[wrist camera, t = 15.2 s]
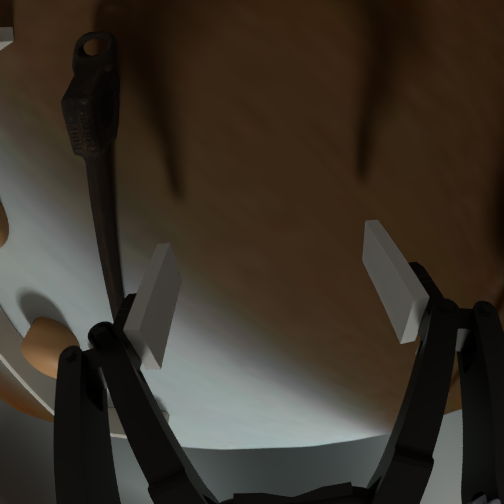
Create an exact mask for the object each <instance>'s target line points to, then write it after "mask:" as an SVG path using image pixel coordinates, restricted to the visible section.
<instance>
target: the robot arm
mask: <svg viewBox="0 0 504 504" xmlns="http://www.w3.org/2000/svg"><path fill="white" fill-rule="evenodd" d="M362 261H363V263H364V265H365V267H366V269H367V272H368V274H369V276H370V278H371V280H372V282H373V284H374V286H375V288H376V290H377V292H378V294H379V297H380V299H381V301H382V303H383V305H384V307H385V310H386V312H387V314H388V316H389V318H390V321H391V323H392V325H393V328H394V330H395V332H396V334H397V337H398V339H399V342H400V344H402V343H407V342H411V341H415V339H416V336H417V333H419V335H420V338H421V340H420V343H419V346H418V348H417V351H416V353H415V354H417V355H416V358H415V362H414V366H413V369H412V373H411V376H410V380H409V383H408V387H407V390H406V393H405V396H404V399H403V402H402V405H401V408H400V411H399V414H398V417H397V420H396V422H395V425H394V428H393V431H392V433H391V436H390V438H389V441H388V443H387V446H386V448H385V451H384V453H383V456H382V458H381V460H380V462H379V465H378V467H377V469H376V471H375V473H374V474H373V476H372V478H371V480H370V482H369V484H368V485H367V488H363V487H356V486H352V485H351V482H348V483H342V484H337V485H331V486H325V487H321V488H319V489H316V490H313V491H310V492H307V493H304V494H302V495H299V496H296V497H286V496H279V495H273V494H266V493H239V494H238V493H236V494H233V495H234V496H233V497H234V498H232V499H228V500H225V501H223V502H221V503H219V502H218V500H217V499H216V498H215V496H214V495H213V494H212V493H211V491H210V490H209V489H208V488H207V487H206V485H205V484H204V482H203V481H202V479H201V478H200V476H199V475H198V473H197V472H196V470H195V469H194V467H193V465H192V464H191V462H190V460H189V459H188V457H187V456H186V454H185V452H184V451H183V449H182V447H181V446H180V444H179V442H178V440H177V439H176V437H175V435H174V434H173V432H172V430H171V428H170V426H169V425H168V423H167V421H166V419H165V417H164V415H163V414H162V412H161V410H160V408H159V406H158V404H157V402H156V400H155V398H154V396H153V394H152V392H151V390H150V388H149V386H148V384H147V382H146V380H145V378H144V376H143V374H142V372H141V370H140V366H141V363H143V365H144V367H145V368H146V369H161V366H162V362H163V357H164V353H165V348H166V344H167V339H168V335H169V331H170V326H171V322H172V318H173V314H174V310H175V306H176V302H177V298H178V294H179V290H180V286H181V282H182V280H181V277H180V273H179V270H178V267H177V264H176V261H175V257H174V254H173V251H172V248H171V244H170V243H163V244H157V247H156V249H155V251H154V254H153V256H152V258H151V261H150V263H149V265H148V268H147V270H146V272H145V275H144V277H143V280H142V282H141V285H140V287H139V290H138V292H137V293H135V294H128V296H127V297H126V298H125V299H124V300H123V301H122V304H121V306H120V310H119V311H118V313H117V316H116V318H115V321H114V323H113V324H112V323H110V322H100V323H97V324H96V325H94V326H93V327H92V328H91V329H90V331H89V333H88V339H89V341H90V342H91V344H92V345H93V347H94V348H93V349H90V350H86V351H82V350H81V349H80V347H79V346H76V345H73V346H69V347H67V348H65V349H64V350H63V351H62V352H61V354H60V356H59V360H58V369H57V379H56V391H55V407H54V475H55V489H56V500H57V504H121V502H120V497H119V492H118V486H117V480H116V474H115V468H114V461H113V455H112V446H111V438H110V428H109V417H108V403H107V388H108V390H109V393H110V396H111V398H112V401H113V404H114V407H115V409H116V412H117V414H118V417H119V420H120V422H121V425H122V427H123V429H124V432H125V434H126V437H127V439H128V441H129V443H130V446H131V448H132V450H133V453H134V455H135V457H136V459H137V461H138V463H139V465H140V467H141V469H142V471H143V473H144V476H145V478H146V479H147V482H148V484H149V487H148V492H149V494H150V497H151V499H152V501H153V502H154V504H420V501H421V499H422V496H423V493H424V491H425V488H426V486H427V483H428V480H429V477H430V475H431V471H432V468H433V464H434V459H433V458H432V455H433V451H434V448H435V444H436V441H437V437H438V434H439V430H440V426H441V422H442V419H443V414H444V410H445V406H446V401H447V397H448V392H449V387H450V381H451V376H452V370H453V364H454V357H455V351H457V357H458V366H459V375H460V385H461V398H462V414H463V415H462V417H463V464H462V481H461V499H462V504H504V332H503V329H502V326H501V322H500V319H499V316H498V313H497V310H496V308H495V307H494V306H493V305H492V304H491V303H489V302H486V301H478V302H477V303H475V305H474V307H473V309H465V308H459V307H458V306H457V304H456V303H455V302H453V301H452V300H449V299H445V298H444V297H443V295H442V294H441V292H440V291H439V289H438V288H437V286H436V285H435V283H434V282H433V281H432V279H431V277H430V276H429V275H428V273H427V271H426V270H425V268H424V267H423V266H421V265H420V264H419V263H417V262H411V263H408V262H407V261H406V259H405V258H404V256H403V255H402V253H401V252H400V251H399V249H398V248H397V246H396V245H395V243H394V242H393V240H392V239H391V238H390V236H389V235H388V233H387V232H386V230H385V229H384V228H383V226H382V225H381V224H380V222H379V221H378V220H368V221H365V233H364V246H363V258H362Z"/></svg>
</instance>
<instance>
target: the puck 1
mask: <svg viewBox="0 0 504 504" xmlns="http://www.w3.org/2000/svg"><path fill="white" fill-rule="evenodd" d="M8 235H9V224H8V219H7V215H6V212H5V210H4V208H3V206H2V204H1V202H0V248H1V247H2V246H3V245H4V243H5V242H6V241H7V239H8Z"/></svg>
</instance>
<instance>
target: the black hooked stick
mask: <svg viewBox="0 0 504 504" xmlns="http://www.w3.org/2000/svg"><path fill="white" fill-rule="evenodd" d="M91 39H103V40H107V42H108V46H107V48H106V50H105V52H104V53H102V54H100V55H94V56H90V55H87V54H86V53H85V51H84V49H83V46H84V44H85V43H86V42H87V41H89V40H91ZM116 58H117V42H116V39H115V37H114V35H113V34H112V33H109V32H105V31H101V32H89V33H86V34H84V35H83V36H82V37H80V38H79V39H78V41H77V43H76V45H75V48H74V53H73V63H72V67H73V72H74V77H73V79H72V81H71V83H70V85H69V87H68V89H67V91H66V93H65V95H64V96H63V98H62V100H61V106H62V112H63V116H64V119H65V123H66V126H67V130H68V133H69V137H70V141H71V145H72V148H73V152H74V154H75V155H79V156H82V157H83V158H84V160H85V163H86V170H87V178H88V186H89V194H90V202H91V208H92V214H93V220H94V226H95V232H96V238H97V244H98V250H99V255H100V261H101V265H102V271H103V275H104V280H105V285H106V290H107V294H108V299H109V303H110V308H111V312H112V317H113V321H115V318H116V316H117V313H118V311H119V310H120V306H121V304H122V301H123V300H124V297H123V290H122V282H121V275H120V267H119V259H118V250H117V240H116V229H115V217H114V206H113V195H112V183H111V169H110V150H109V144H110V143H111V142H112V141H113V140H114V139H116V137H117V126H118V114H119V91H120V80H119V78H118V77H117V75H116V72H115V70H114V69H113V67H114V66H115V62H116Z"/></svg>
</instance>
